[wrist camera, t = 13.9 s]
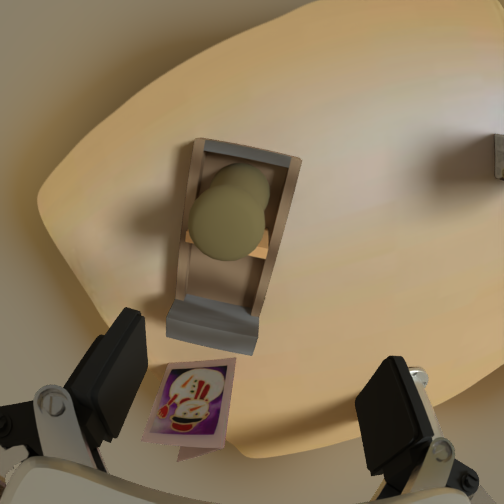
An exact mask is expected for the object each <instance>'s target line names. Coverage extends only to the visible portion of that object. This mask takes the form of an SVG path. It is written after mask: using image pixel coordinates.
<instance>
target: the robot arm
mask: <svg viewBox="0 0 504 504" xmlns="http://www.w3.org/2000/svg"><path fill="white" fill-rule="evenodd" d="M147 367H148V358H147V346H146V331H145V317H144V316H141V313H140V311H137V310H134V309H131V308H127V307H125V308H124V309H123V310H122V312H121V313H120V314H119V316H118V317H117V319H116V320H115V321H114V323H113V324H112V326H111V327H110V328H109V330H108V331H107V333H106V334H105V335H99V336H98V337H97V338H96V339H95V341H94V342H93V343H92V345H91V346H90V348H89V349H88V351H87V352H86V354H85V355H84V357H83V358H82V359H81V361H80V363H79V364H78V365H77V367H76V369H75V370H74V372H73V373H72V375H71V376H70V378H69V379H68V381H67V382H66V384H65V385H64V387H63V388H62V387H61V386H58V385H46V386H43V387H42V388H40V389H39V390H38V391H37V392H36V394H35V397H34V400H33V401H28V402H23V403H18V404H12V405H6V406H0V504H218V503H212V502H206V501H201V500H196V499H191V498H186V497H182V496H178V495H174V494H170V493H166V492H162V491H159V490H155V489H151V488H148V487H145V486H142V485H139V484H136V483H133V482H130V481H127V480H124V479H121V478H119V477H116V476H113V475H110V474H109V472H108V469H107V467H106V465H105V462H104V460H103V458H102V456H101V453H100V450H99V448H98V447H100V445H101V443H102V441H103V440H105V441H107V442H110V443H111V441H112V438H117V437H118V435H119V433H120V431H121V428H122V426H123V424H124V421H125V419H126V416H127V414H128V412H129V409H130V407H131V405H132V403H133V400H134V398H135V396H136V393H137V391H138V389H139V387H140V384H141V382H142V380H143V378H144V375H145V373H146V371H147ZM427 383H428V375H427V373H426V371H425V370H424V369H421V368H408V367H407V364H406V362H405V360H404V358H403V357H402V356H389V357H387V358H386V359H384V360H383V362H382V363H381V365H380V366H379V367H378V369H377V370H376V372H375V373H374V375H373V376H372V377H371V379H370V380H369V382H368V383H367V384H366V386H365V387H364V388H363V390H362V391H361V392H360V394H359V395H358V396H357V398H356V400H355V407H356V412H357V417H358V422H359V426H360V431H361V436H362V442H363V447H364V453H365V458H366V464H367V468H368V470H370V472H371V476H375V475H382V474H384V479H383V481H382V483H381V484H380V486H379V488H378V489H377V491H376V492H375V494H374V496H373V497H372V498H371V500H370V501H369V502H364V503H358V504H496V503H495V501H494V500H493V499H492V498H491V497H490V495H488V493H487V492H486V491H485V490H484V488H483V487H482V486H481V485H480V486H479V478H478V475H477V473H476V472H475V471H474V470H473V469H471V468H469V467H468V466H466V465H464V464H463V463H461V462H460V461H458V460H456V459H455V449H454V446H453V445H452V443H451V442H450V441H449V440H448V439H446V438H444V436H443V433H442V431H441V428H440V425H439V423H438V420H437V417H436V415H435V412H434V410H433V407H432V405H431V402H430V400H429V398H428V395H427V393H426V391H425V387H426V385H427ZM19 462H22V463H21V464H20V465H19V466H18V467H17V469H16V470H15V471H14V473H13V475H12V476H11V478H10V480H9V482H8V484H7V485H6V482H5V477H6V474H7V473H8V472H9V471H10V470H12V469H14V465H16V464H18V463H19ZM478 486H479V487H478Z"/></svg>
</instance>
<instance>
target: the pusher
mask: <svg viewBox="0 0 504 504" xmlns="http://www.w3.org/2000/svg"><path fill="white" fill-rule="evenodd" d="M185 242H188V243H193V241H192V239H191V237H190V235H189V230H187V231H186V239H185ZM193 244H194V243H193ZM267 252H268V228H265V230H264V234H263V238H262V240H261V241H260V243H259V244H258V246H257V247H256V249H255V250H254V251H252V252H251V253H250V254H249V256H253V257H258V258H263V259H266V256H267Z"/></svg>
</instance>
